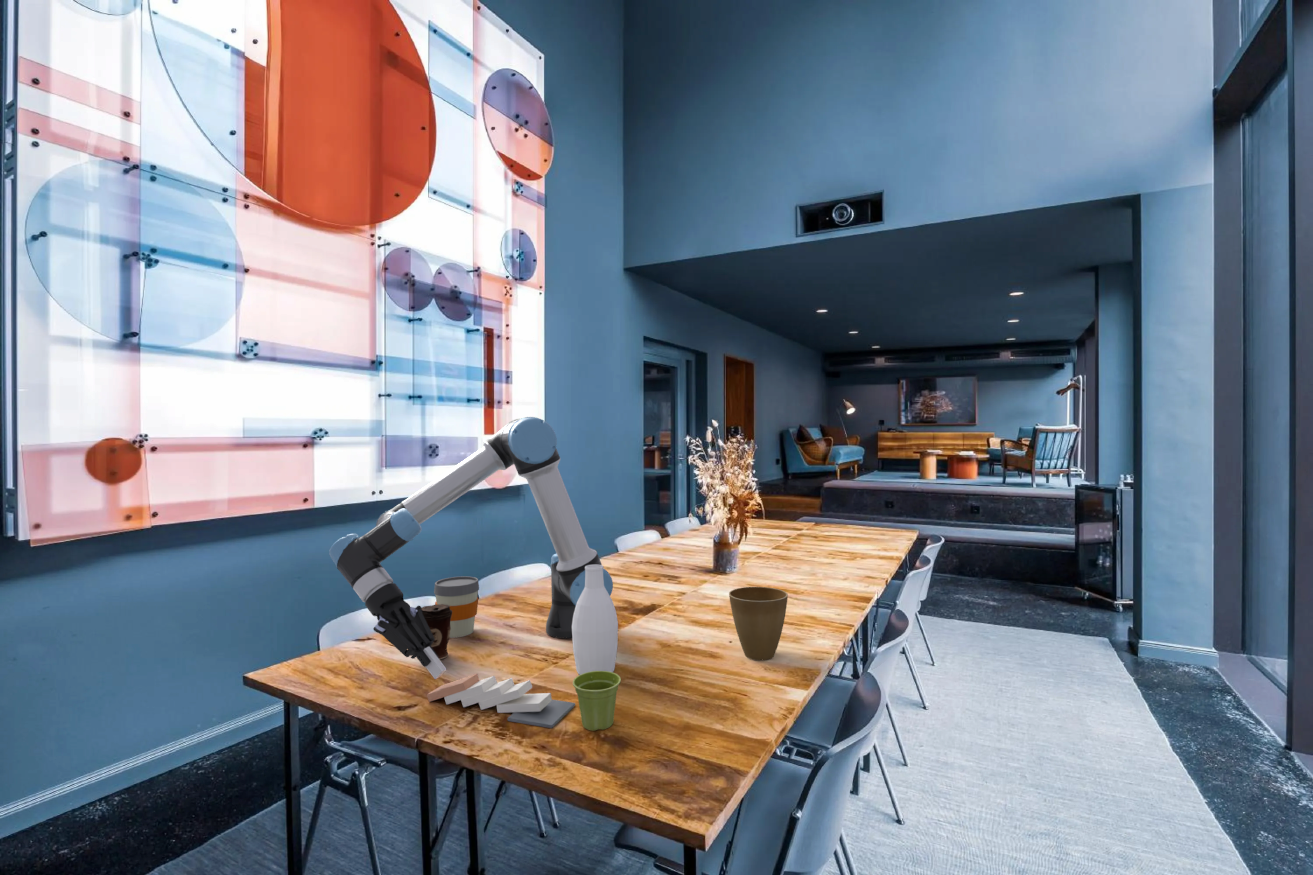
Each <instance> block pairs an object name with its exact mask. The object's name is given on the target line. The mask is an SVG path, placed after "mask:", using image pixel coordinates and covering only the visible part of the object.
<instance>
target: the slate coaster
mask: <svg viewBox="0 0 1313 875" xmlns="http://www.w3.org/2000/svg"><path fill="white" fill-rule="evenodd" d="M574 706H576V702H574V701H573V702H571V701H567V700H559V699H552V701H551V702H550V703H549V704H548V705H547V706H546V707H544V708H543V709H542V710H541V711H538V712H512V714H510V715H508V717H507V721H508V722H513V723H516V724H517V723H520V724H524V725H530V726H537V727H543V728H549V729H553V728H554V727H555V726H556V725H557V724H558V723H559V722H561V720H562V719H563V718H564V717H566V716H567V715H568V714H569V712H570V711H572V709H573V708H575V707H574Z"/></svg>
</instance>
